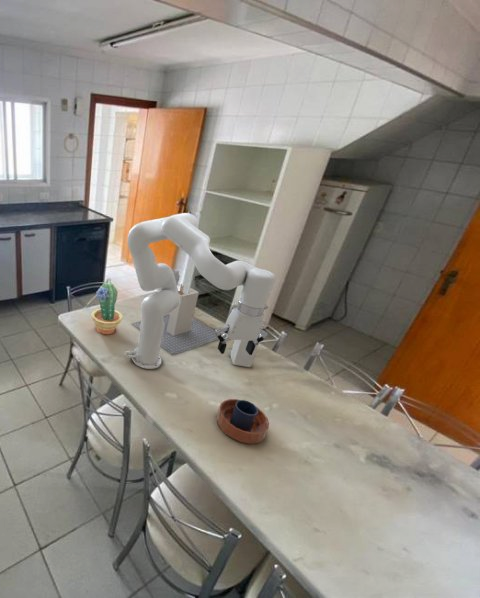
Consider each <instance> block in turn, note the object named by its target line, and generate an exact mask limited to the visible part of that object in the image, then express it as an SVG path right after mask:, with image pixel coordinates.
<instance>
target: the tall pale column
mask: <svg viewBox="0 0 480 598" xmlns="http://www.w3.org/2000/svg"><path fill="white" fill-rule="evenodd" d="M172 271H173V273H174V276H175V280H176V284H177V285H178V283H179V281H180V277H181V276H180V271H179V270H177V269H175V270H174V269H172Z"/></svg>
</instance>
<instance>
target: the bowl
mask: <svg viewBox="0 0 480 598" xmlns="http://www.w3.org/2000/svg"><path fill="white" fill-rule="evenodd" d="M239 400H240V399H238V398H229V399H225V400H224V401H222V402H220V405H219V407H218V410H217V413H216V416H215V417H216V423H217V425H218V426H219V429H221V430H222V432H223V433H224V434H226V435H227V436H229V437H230V438H231V439H233V440H235V441H238V442H240V443H244V444H247V445H249V444H250V445H251V444H252V445H253V444H254V445H255V444H258V443H261V442H262V441H263V440H264V439H265V437H266V436H267V433H268V431H269V429H270V422H269V421H270V420H269V418H268V417H267V416H266V414H265V413H264V412H263V410H261V409H260V408H259V407H258V406H256V407H257V409H258V414H257V417H256V419H255V422H254V424H253V427H252V429H251V431H250V432H247V431H243V430H241V429H239V428H236V427H235V426H233V425H232V424H230V418H231V415H232V412H233V409H234V406H235V404H236V402H237V401H239Z"/></svg>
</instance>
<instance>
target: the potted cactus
mask: <svg viewBox="0 0 480 598" xmlns="http://www.w3.org/2000/svg"><path fill="white" fill-rule="evenodd" d="M96 298H97V301H98V303H99V307H100V308H97V309H94V310H93V311H92V312H91V319H92V321H93V322H94V323H93V324H94V325H95V327H96V331H97V332H99V333H100V334H103V335H110V334H113V333H114V332H115V329H116V328H117V327H118V326H119V324H120V323H121V322H122V321H123V319H124V318H123V314H122V313H121V312H119V311H118V309H117V310H116V309H115V305H116V302H117V300H118V290H117V288H116V286H115V285H114V284H113V283H112V282H111V281H110V282H108V281H106V282H104V283H102V285H101V286H100V287H99V288H98V290H97V291H96Z"/></svg>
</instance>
